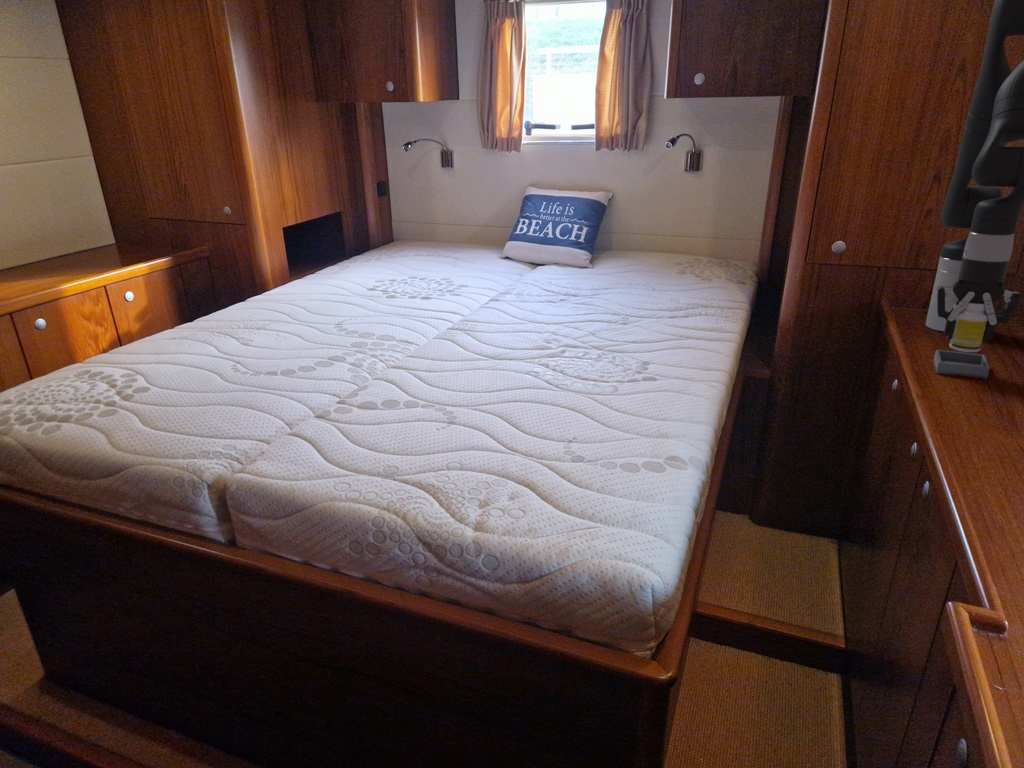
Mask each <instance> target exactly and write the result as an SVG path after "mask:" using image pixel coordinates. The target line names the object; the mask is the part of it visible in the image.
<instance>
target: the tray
mask: <svg viewBox="0 0 1024 768" xmlns="http://www.w3.org/2000/svg"><path fill="white" fill-rule="evenodd" d="M933 357H934V358H933V364H934V368H935V374H939V375H945V374H948V375H947V376H953V375H961V376H968V377H967V378H969V377H976V378H975V379H978V378H983V379H982V380H986V379H987V380H988V377H989V372H990V369H991V368H990V366H989V363H988V361H987V358H986V356H985V354H979V353H972V352H962V351H952V350H942V349H935V352H934V356H933ZM961 376H960V377H961Z"/></svg>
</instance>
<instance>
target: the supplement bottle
mask: <svg viewBox="0 0 1024 768" xmlns="http://www.w3.org/2000/svg"><path fill="white" fill-rule="evenodd" d="M987 322H988V316H987V314H986V308H985V304H978V303H968V304H967V305H966V306H965V308H964V309H963V310H962V311H961V312H960V313H959V314H958V316H957V317H956V318H955V326H954V330H953V335H952V339H949V344H948V347H949V348H950V349H952V350H954V351H956V352H962V353H978V352H980V350H981V349H982V345H983V342H982V341H983V337H984V334H985V330H986V326H987Z"/></svg>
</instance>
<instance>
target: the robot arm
mask: <svg viewBox="0 0 1024 768" xmlns="http://www.w3.org/2000/svg"><path fill="white" fill-rule="evenodd" d="M991 10H992V11H991V15H990V20H989V24H988V29H987V36H986V40H985V45H984V50H983V56H982V61H981V66H980V70H979V73H978V74H979V75H978V76H977V77H978V78H977V81H976V85H975V88H974V92H973V95H972V99H971V102H970V105H969V109H968V113H967V116H966V119H965V120H966V121H965V124H964V128H963V133H962V138H961V144H960V148H959V152H958V153H959V154H958V157H957V161H956V163H955V164H956V165H955V168H954V171H953V175H952V178H951V180H950V183H949V186H948V189H947V193H946V195H945V199H944V202H943V206H942V210H941V217H940V218H941V223H942V225H943V226H944V227H947V228H953V229H970V230H969V234H968V236H967V237H963V238H960V239H958V240H953V241H948V242H946V243H945V244H943V245H942V247H941V250H940V255H939V259H938V265H937V269H936V274H935V278H934V279H935V280H934V285H933V288H932V294H931V297H930V302H929V307H928V311H927V316H926V321H925V326H926V327H927V328H929V329H932V330H935V331H941V332H943V333H944V336H946V339H948V340H950V339H952V335H953V330H954V326H955V318H956V317H957V316H958V314H959V313H960V312H961V311H962V310H963V309H964V308H965V306H966V305H967V304H968V303H978V304H985V308H986V311H985V313H986V314H987V316H988V322H987V326H986V330H985V334H984V337H983V341H982V343H988V341H991V340H992V339H993V338H994V333H995V329H996V326H997V325H998V324H1002V323H1004V324H1006V323H1008V322H1009V320H1010V318H1011V317H1012V314H1013V313H1014V311H1015V309H1016V307H1017V305H1018V303H1019V301H1020V299H1021V294H1020V292H1019V291H1017V290H1014V291H1010V290H1007V289H1005V288H1004V283H1005V280H1006V275H1007V271H1008V267H1009V263H1010V259H1011V257H1012V254H1013V249H1014V237H1015V233H1016V228H1017V225H1018V222H1019V217H1020V213H1021V210H1022V208H1023V206H1024V146H1007V145H1008V143H1012V142H1017V141H1020V140H1021V141H1022V140H1024V59H1023V60H1022V61H1021V62H1020V63H1019V64H1018V65H1017V66H1016V68H1014V69H1013V71H1012V68H1011V66H1010V64H1009V61H1008V57H1007V52H1006V47H1005V46H1006V45H1005V43H1006V39H1007V38H1008V37H1015V36H1024V0H994V2H993V6H992V9H991ZM972 180H973V181H974V183H975V184H976V186H969V184H970V182H971V181H972ZM977 185H978V186H979V187H978V186H977ZM1003 187H1004V188H1006V187H1007V188H1011V187H1012V189H1011V190H1010V191H1009V192H1008V193H1007V194H1006V195H1005V196H1003V193H1002V191H1001V189H1000V188H1003ZM1003 296H1004V301H1005V305H1004V307H1003V309H1002V310H1001V313H1000V314H998V315H996V314H995V313H996V312H995V309H994V305H993V304H994V303H995V302H997V300H999V299H1000V298H1002V297H1003Z"/></svg>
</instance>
